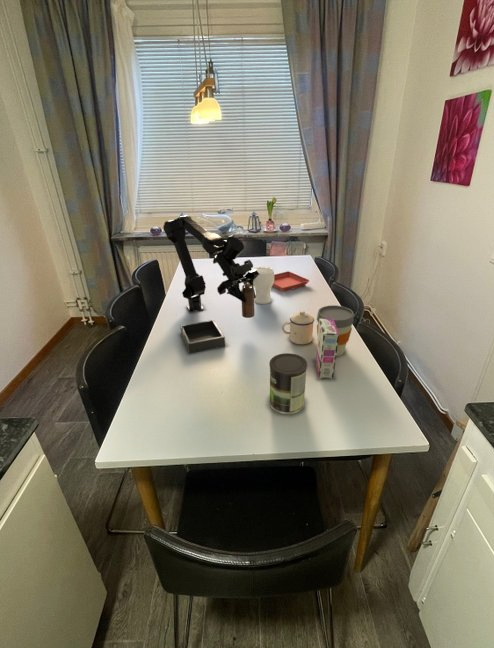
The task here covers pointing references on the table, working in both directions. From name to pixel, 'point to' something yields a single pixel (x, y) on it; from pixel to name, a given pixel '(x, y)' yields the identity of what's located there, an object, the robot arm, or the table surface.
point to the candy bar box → (326, 348)
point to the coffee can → (287, 383)
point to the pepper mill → (248, 301)
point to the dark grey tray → (202, 336)
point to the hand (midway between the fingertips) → (250, 300)
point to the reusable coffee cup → (338, 323)
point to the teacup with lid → (300, 328)
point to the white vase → (263, 284)
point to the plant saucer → (288, 281)
